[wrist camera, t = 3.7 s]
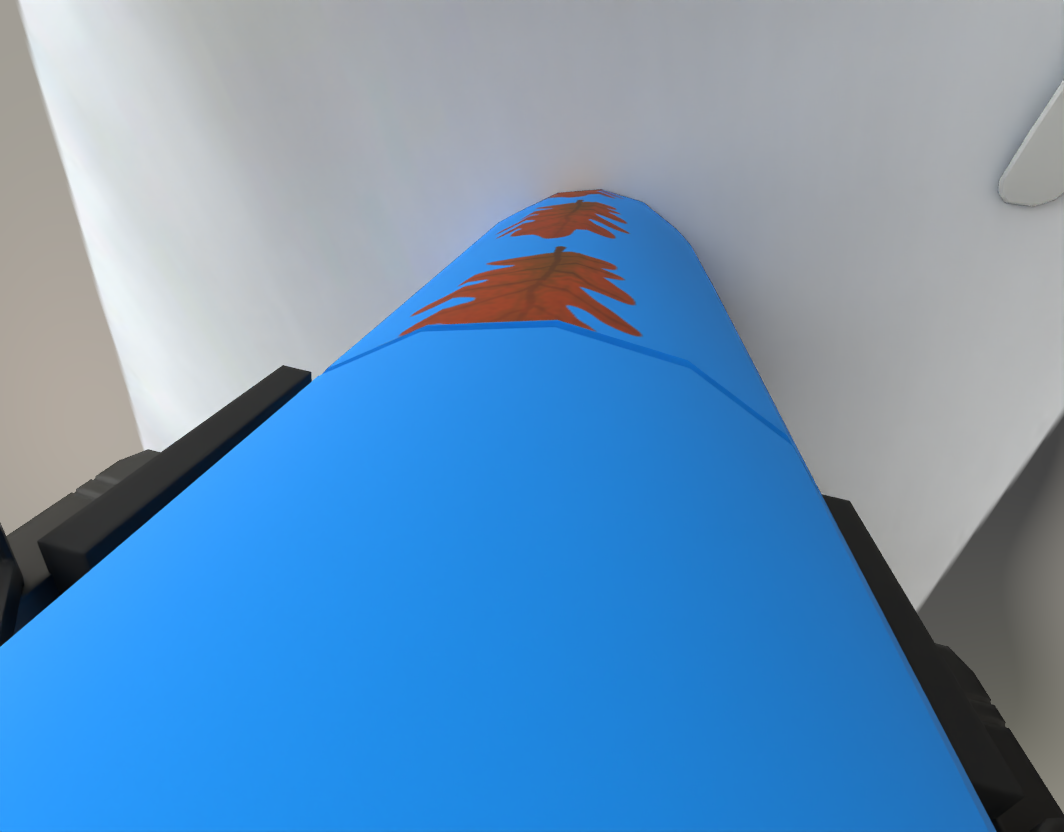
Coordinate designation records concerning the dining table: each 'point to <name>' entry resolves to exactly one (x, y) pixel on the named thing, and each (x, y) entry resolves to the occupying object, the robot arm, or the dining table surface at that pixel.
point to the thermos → (492, 590)
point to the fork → (1038, 159)
